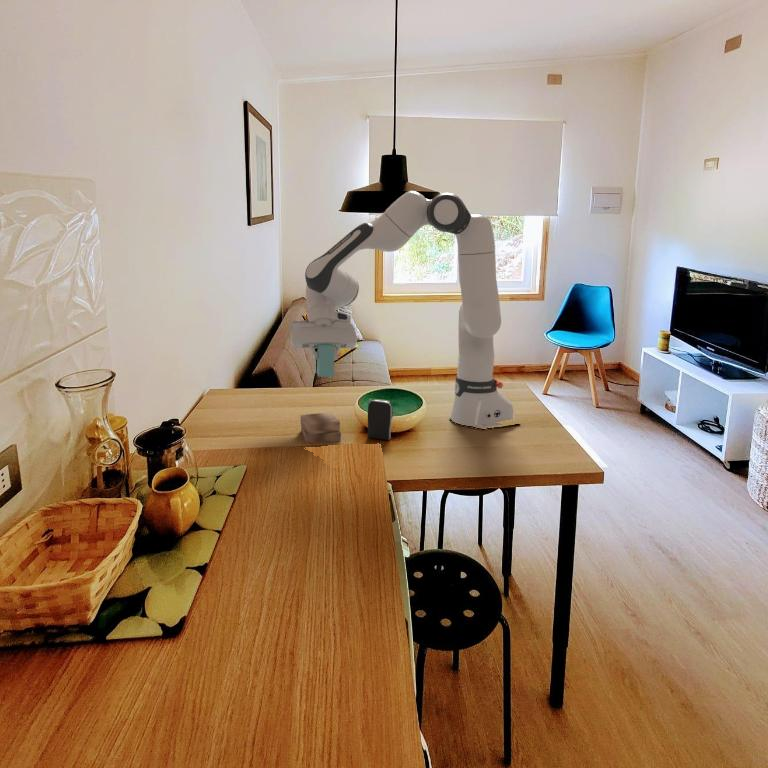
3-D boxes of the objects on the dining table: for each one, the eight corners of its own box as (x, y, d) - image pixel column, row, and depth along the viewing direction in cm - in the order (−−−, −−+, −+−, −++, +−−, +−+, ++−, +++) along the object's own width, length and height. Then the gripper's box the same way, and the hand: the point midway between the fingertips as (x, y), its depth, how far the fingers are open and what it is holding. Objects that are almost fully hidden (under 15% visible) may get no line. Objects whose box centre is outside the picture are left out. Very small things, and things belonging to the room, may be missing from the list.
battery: (393, 437, 177) (394, 399, 174) (389, 441, 174) (390, 403, 171) (370, 433, 179) (371, 396, 176) (366, 438, 176) (367, 400, 173)
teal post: (331, 372, 187) (332, 344, 185) (333, 376, 183) (334, 347, 181) (316, 373, 186) (317, 344, 184) (318, 376, 182) (319, 347, 180)
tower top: (330, 421, 181) (330, 412, 180) (339, 431, 173) (339, 421, 172) (300, 424, 178) (300, 415, 177) (309, 434, 170) (309, 424, 169)
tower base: (334, 430, 182) (334, 421, 181) (340, 442, 173) (340, 432, 172) (301, 432, 180) (301, 423, 179) (305, 444, 170) (305, 434, 170)
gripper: (289, 314, 184) (291, 352, 177) (355, 315, 189) (360, 353, 182) (287, 326, 189) (290, 364, 183) (352, 327, 194) (356, 364, 188)
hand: (325, 358), depth 183 cm, fingers closed on teal post, 4 cm apart
